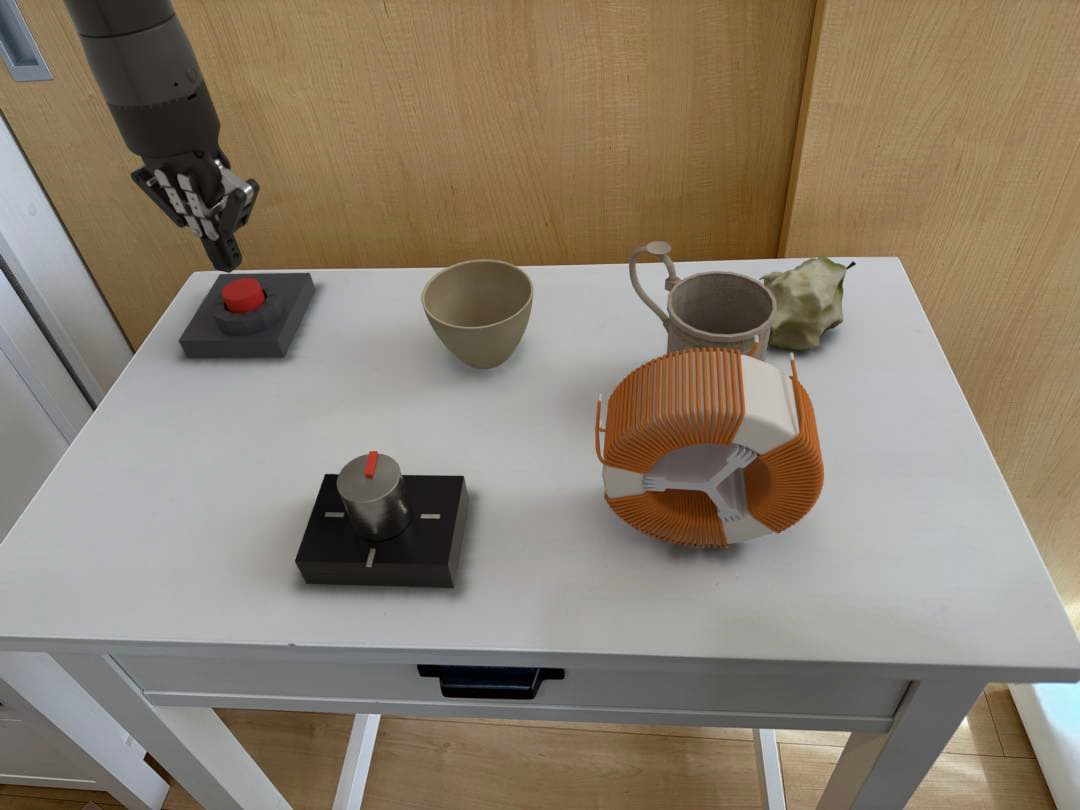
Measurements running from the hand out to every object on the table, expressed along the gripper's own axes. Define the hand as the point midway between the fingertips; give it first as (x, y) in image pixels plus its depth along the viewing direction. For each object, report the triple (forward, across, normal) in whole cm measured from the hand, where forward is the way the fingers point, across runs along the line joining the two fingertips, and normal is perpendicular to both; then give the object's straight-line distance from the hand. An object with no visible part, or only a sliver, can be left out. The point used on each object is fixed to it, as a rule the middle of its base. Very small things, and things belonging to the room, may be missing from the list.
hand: (229, 266), depth 72 cm
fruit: (+8, +50, +18) cm, 53 cm away
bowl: (+8, +24, +5) cm, 25 cm away
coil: (+8, +47, -6) cm, 48 cm away
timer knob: (+5, +27, -17) cm, 32 cm away
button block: (+8, -1, +1) cm, 8 cm away
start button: (+4, 0, 0) cm, 4 cm away
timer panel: (+8, +27, -17) cm, 32 cm away
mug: (+8, +43, +8) cm, 44 cm away
